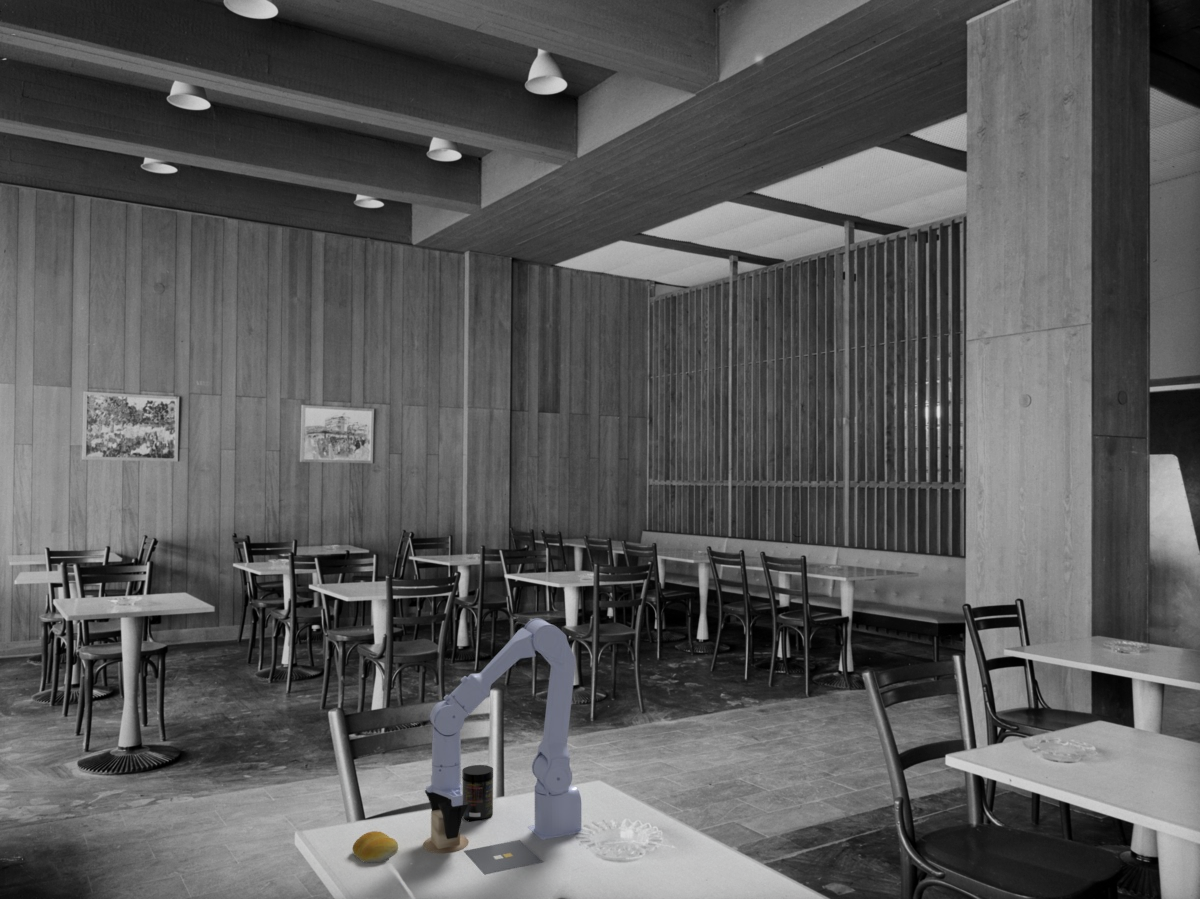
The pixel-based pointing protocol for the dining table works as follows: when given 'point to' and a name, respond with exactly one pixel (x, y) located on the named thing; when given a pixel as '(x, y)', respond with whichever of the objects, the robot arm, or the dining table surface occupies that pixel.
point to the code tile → (503, 856)
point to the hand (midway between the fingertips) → (446, 831)
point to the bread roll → (375, 847)
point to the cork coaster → (432, 848)
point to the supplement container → (478, 792)
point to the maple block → (441, 831)
